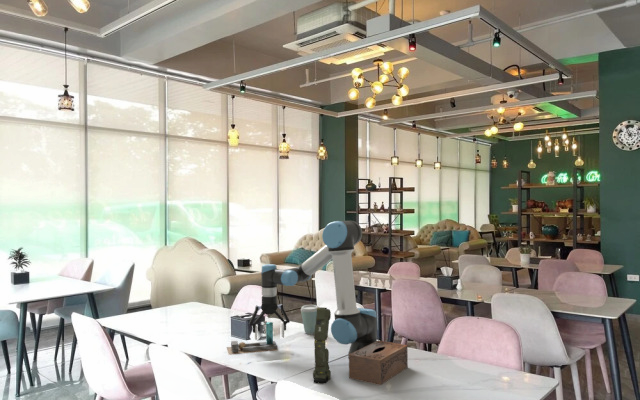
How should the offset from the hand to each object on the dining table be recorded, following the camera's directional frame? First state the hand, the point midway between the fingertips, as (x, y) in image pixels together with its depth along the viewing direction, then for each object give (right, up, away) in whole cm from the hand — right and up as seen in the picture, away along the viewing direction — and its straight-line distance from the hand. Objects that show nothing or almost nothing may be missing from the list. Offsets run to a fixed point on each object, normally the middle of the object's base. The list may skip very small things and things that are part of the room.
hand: (269, 338), depth 244 cm
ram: (-1, -3, 0) cm, 4 cm away
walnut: (-13, -5, -4) cm, 14 cm away
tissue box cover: (+51, -5, -35) cm, 62 cm away
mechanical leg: (+26, -5, -42) cm, 49 cm away
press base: (-8, -6, -2) cm, 10 cm away
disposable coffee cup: (+20, -6, +32) cm, 38 cm away
